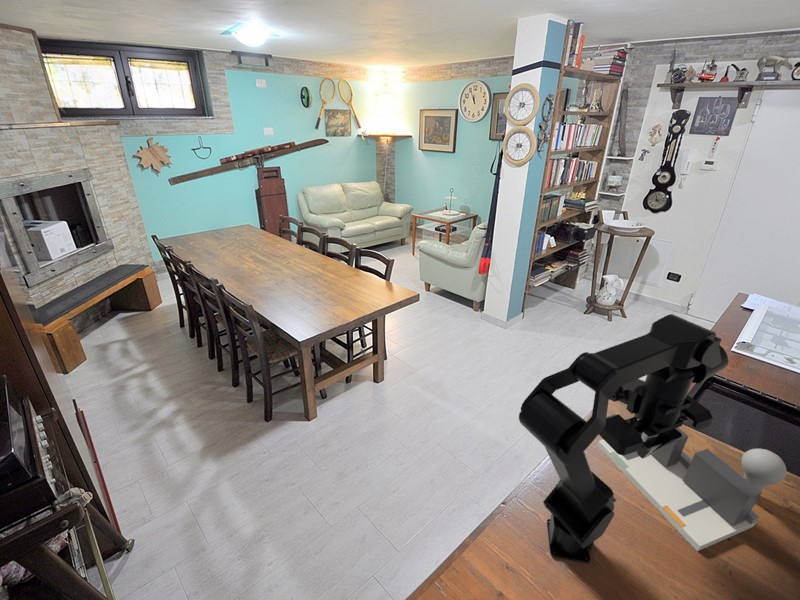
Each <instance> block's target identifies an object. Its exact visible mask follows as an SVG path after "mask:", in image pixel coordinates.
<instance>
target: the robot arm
mask: <svg viewBox="0 0 800 600" xmlns="http://www.w3.org/2000/svg"><path fill="white" fill-rule="evenodd" d="M721 341H722V338H720V337H717V334H716V332H715V331H712V330H710V329H708V328H705V327H703V326H701V325H698V324H696V323H694V322H692V321H689V320H687V319H684V318H682V317H680V316H677V315H675V314H671V313H670V314H668V315H665V316H663V317H661V318H658V319H657V320H655V321H654V322H652V324H651V327H650V330H649V332H648V333H646V334H643V335H641V336H638V337H636V338H632V339H630V340H627V341H624V342H621V343H619V344H615V345H614V346H610V347H608V348H605V349H603V350H602V349H601V350H599V351H596V352H592V353H591V352H583V353H581V354H579V355H578V356H577V357H576V358H575V360H573V362H572V363H571V364H570V365H569V366H568V368H565V369H562V370H560V371H558V372H556V373H553V374H550V375H548V376H544V378H543V379H541V381H540V382H539V383H538V384H537V385H536V387H534V389H533V390H532V391H531V392H530V393H529V394H528V396H527V397H526V398H525V399H524V400H523V402H522V403H521V407H520V411H519V413H518V421H519V423H520V425H522V426H523V428H525V429H526V430H527V432H529V433H530V434H531V435H532V436H533V437H534V438H535V439H536V440H537V441H538V442H540V444H542V445H543V446H544V448H545V450H546V453H547V455H548V456H549V459H550V461H551V463H552V465H553V467H554V469H555V471H556V474H557V475H558V478H559V481H558V482H557V484H556V485H555V486H554V488H553V489H552V490H551V491H550V493H549V494H548V495H547V496H546V498H545V499H544V500H543V506H544V507H545V508H546V509H547V510H548V511H549V512H550V518H548V519H547V520H546V527H547V535H548V537H547V538H548V545H549V546H548V547H549V555H550V556H552V557H555V558H561V559H567V560H571V561H577V562H582V563H586V564H587V563H590V562H591V555H590V551H592V550H593V546H594V544H595V541H596V540H598V539H600V538H601V537H602V536H603V535H604V533H605V531H607V528H608V527H609V525H610V523H611V521H612V520H613V519H614V516H615V512H614V511H615V510H614V509H615V502H616V501H617V498H615V497H614V494H615V493H614V491H613V489H612V488H611V487H610V486H609V485H608V484H606V483H605V482H604V481H603V480H602V479H600V477H599V476H597V475H596V474H595V473H594V472H593V471H592V470H591V468H590V467H591V466H590V465H589V462H588V460H587V456H586V453H585V451H586V450H587V449H588V447H589V446H590V445H591V444H592V443H593V441H594V440H595V439H596V438H597V437H598V436H600V437H601V439H602V440H603V439H604V440H605V441H606V442H607V443H608V444H609V445H610V446H611V447H612V448H613V449H614V450H615V452H616V453H617V454H620V455H623V456H624V455H627V454H630V453H633V452H636V451H637V454H638V455H639V456H640V457H641V458H642V459H643V458H646V457H648V456H649V455H651V454H653V453H654V452H656V451H658V450H659V449H661V448H663V447H664V446H666V445H668V444H670V443H671V442H673V441H675V440H677V439H679V438H681V437H682V434H681V433H680V432H679V431H678V430H676V429H675V428H680V427H683V425H684V423H687V422H688V421H689V420H691V421H692V422H693V423H692V424H691V426H692V427H693V428H694V429H695V430H696V431H699V430H701V429H705V428H707V427H710V425H711V423H712V421H713V418H714V417H713V416H712V413H711V411H710V410H709V409H708V408H707V407H705V406H704V405H702V404H701V403H700V402H698V401H697V400H695V399H694V398H693V397H691V396H690V395H688V394H689V391H690V389H691V386H692V383H693V384H700V383H702V382H704V381H705V380H707V379H709V378H710V377H712V376H714V375H716V374H718V373H719V372H721V371H723V370H724V369H725V368H726V369H727V366H728V364H729V357H728V354H727V352H726V350H725V348H724V347H722V346H721ZM643 377H645V380H643V379H641V378H643ZM578 382H581V383H582V384H584V385H585V386H586V387H588V388H589V389H591V390H592V391H594V392H595V393H594V398H593V399H594V400H593V406H592V413H591V416H590V418H589V419H588V420H587V421H586V420H585V419H584V418H583V417H581V416H580V415H579V414H577V413H576V412H575V411H574V410H572V409H571V408H570V407H569V406H568V405H566V404H565V403H563V401H561V400H560V399H558V398H557V397H556V396H555V395H554V393H555V392H556V391H558V390H560V389H563V388H565V387H568V386H570V385H573V384H576V383H578ZM610 401H612V402H614V403H615V402H620V403H622V404H625V405H626V410H627V411H628V412H629V413H630V414H631V415H634V414H636V417H634V416H633V417H629V418H627V419H625V418H623V416H622V415H620V414H611V415H609V416H607V415H608V406H609V402H610Z"/></svg>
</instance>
